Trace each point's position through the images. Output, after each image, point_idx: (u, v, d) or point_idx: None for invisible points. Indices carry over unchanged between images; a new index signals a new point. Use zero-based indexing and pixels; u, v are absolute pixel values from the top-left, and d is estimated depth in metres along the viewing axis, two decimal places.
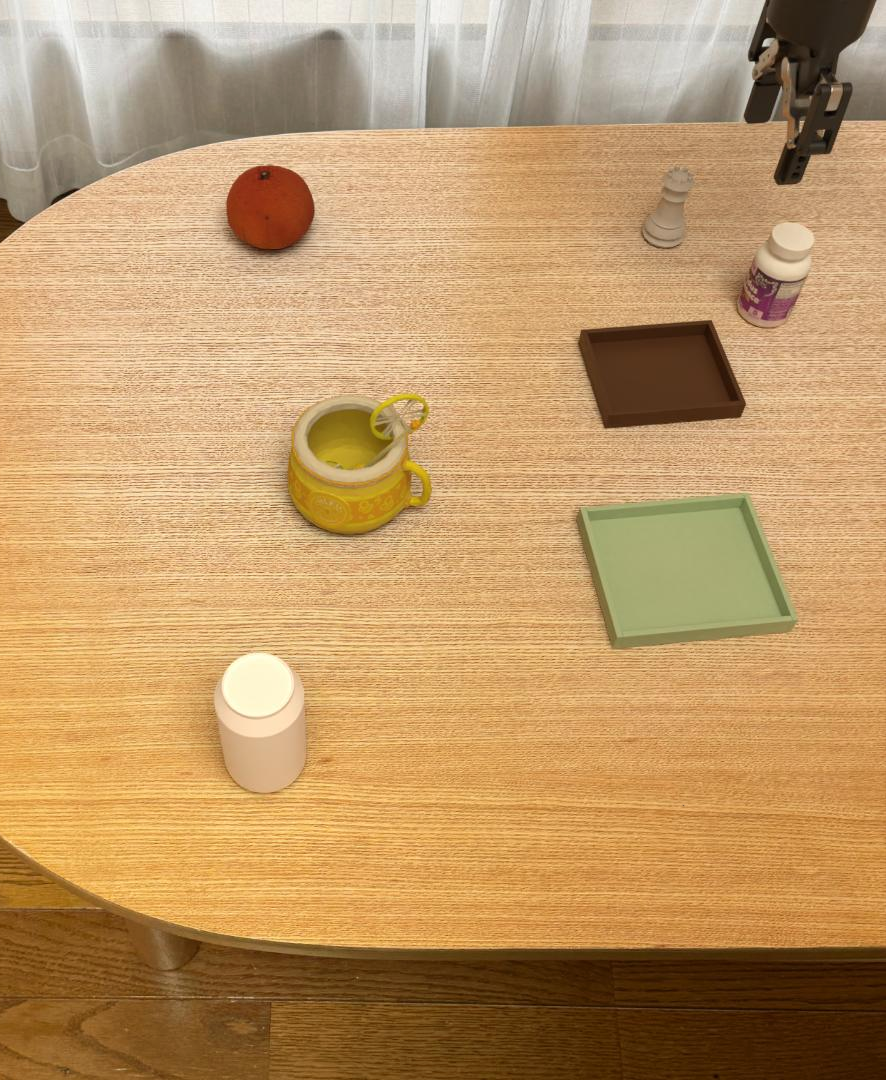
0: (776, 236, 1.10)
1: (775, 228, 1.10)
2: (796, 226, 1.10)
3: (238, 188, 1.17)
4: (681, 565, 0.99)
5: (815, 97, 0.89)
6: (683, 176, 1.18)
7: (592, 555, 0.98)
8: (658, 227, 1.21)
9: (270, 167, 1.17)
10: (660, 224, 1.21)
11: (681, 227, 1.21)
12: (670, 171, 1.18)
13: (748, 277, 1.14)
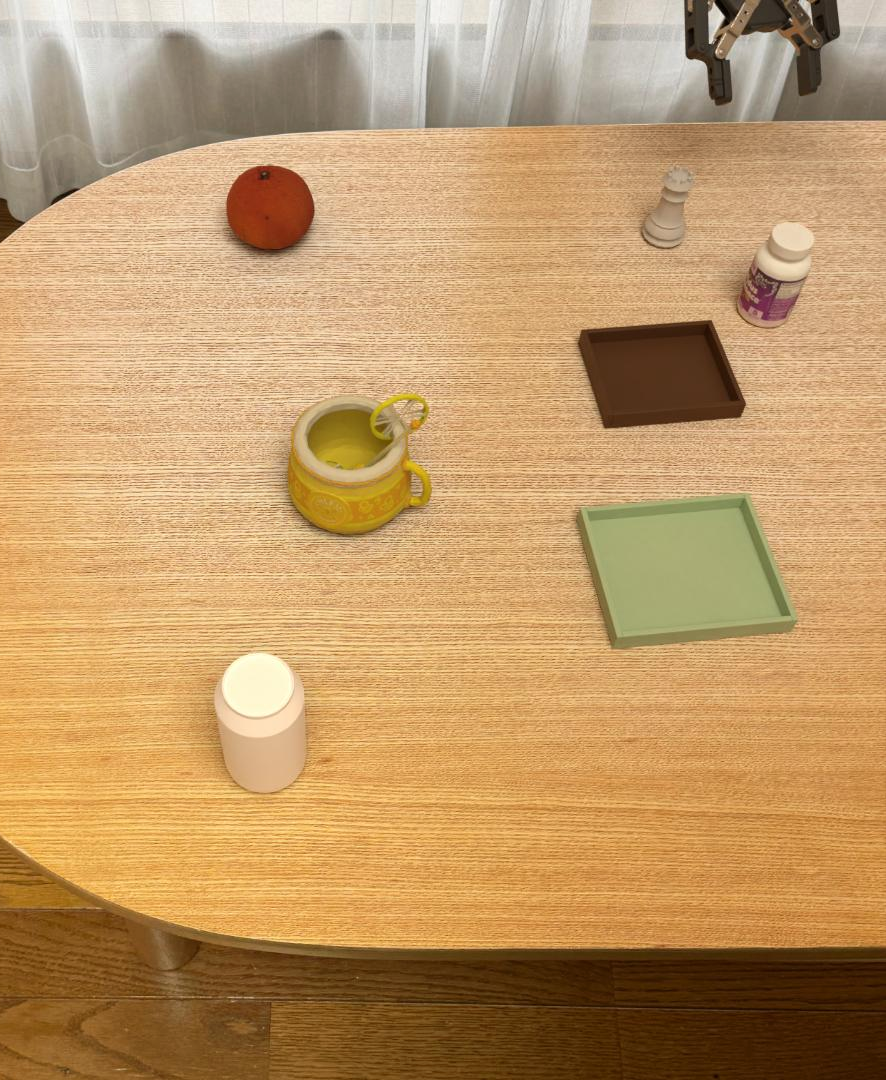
0: (776, 236, 1.10)
1: (775, 228, 1.10)
2: (796, 226, 1.10)
3: (238, 188, 1.17)
4: (681, 565, 0.99)
5: None
6: (683, 175, 1.18)
7: (592, 555, 0.98)
8: (658, 227, 1.21)
9: (270, 167, 1.17)
10: (660, 224, 1.21)
11: (681, 227, 1.21)
12: (670, 171, 1.18)
13: (748, 277, 1.14)
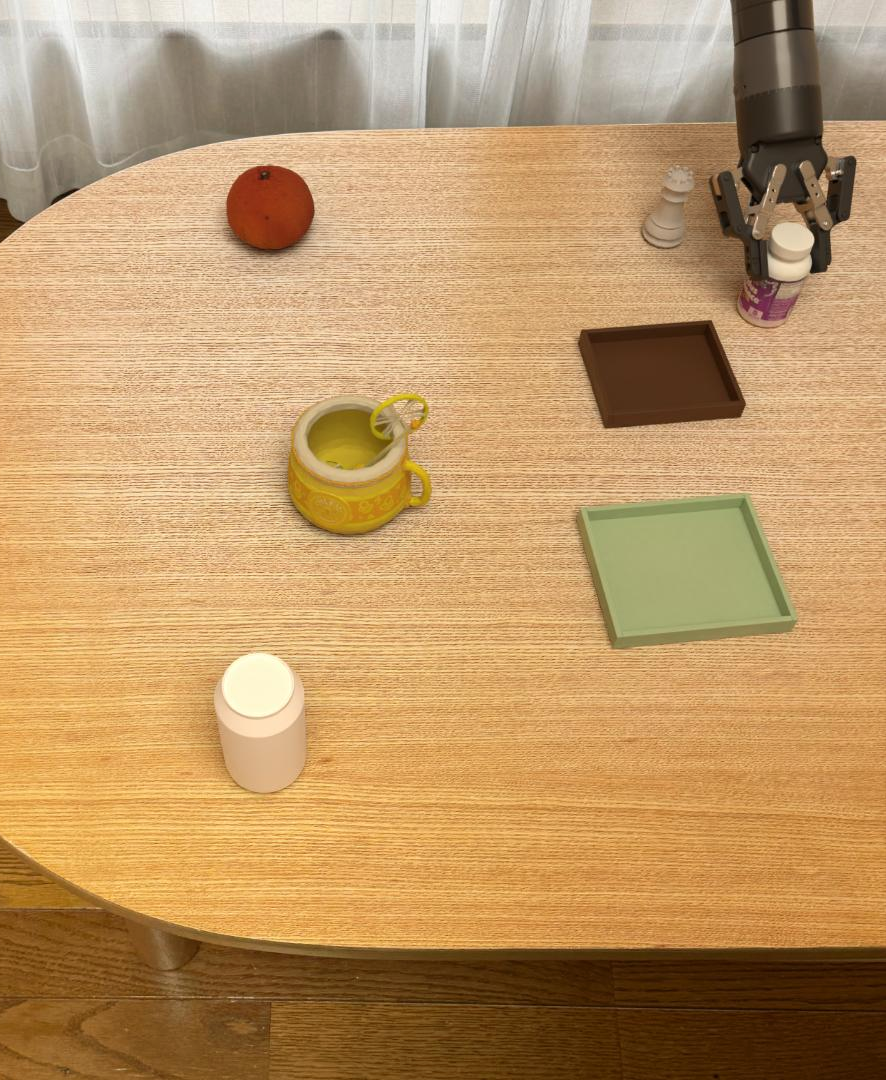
0: (776, 236, 1.10)
1: (775, 228, 1.10)
2: (796, 226, 1.10)
3: (238, 188, 1.17)
4: (681, 565, 0.99)
5: None
6: (683, 175, 1.18)
7: (592, 555, 0.98)
8: (658, 227, 1.21)
9: (270, 167, 1.17)
10: (660, 224, 1.21)
11: (681, 227, 1.21)
12: (670, 171, 1.18)
13: (748, 277, 1.14)
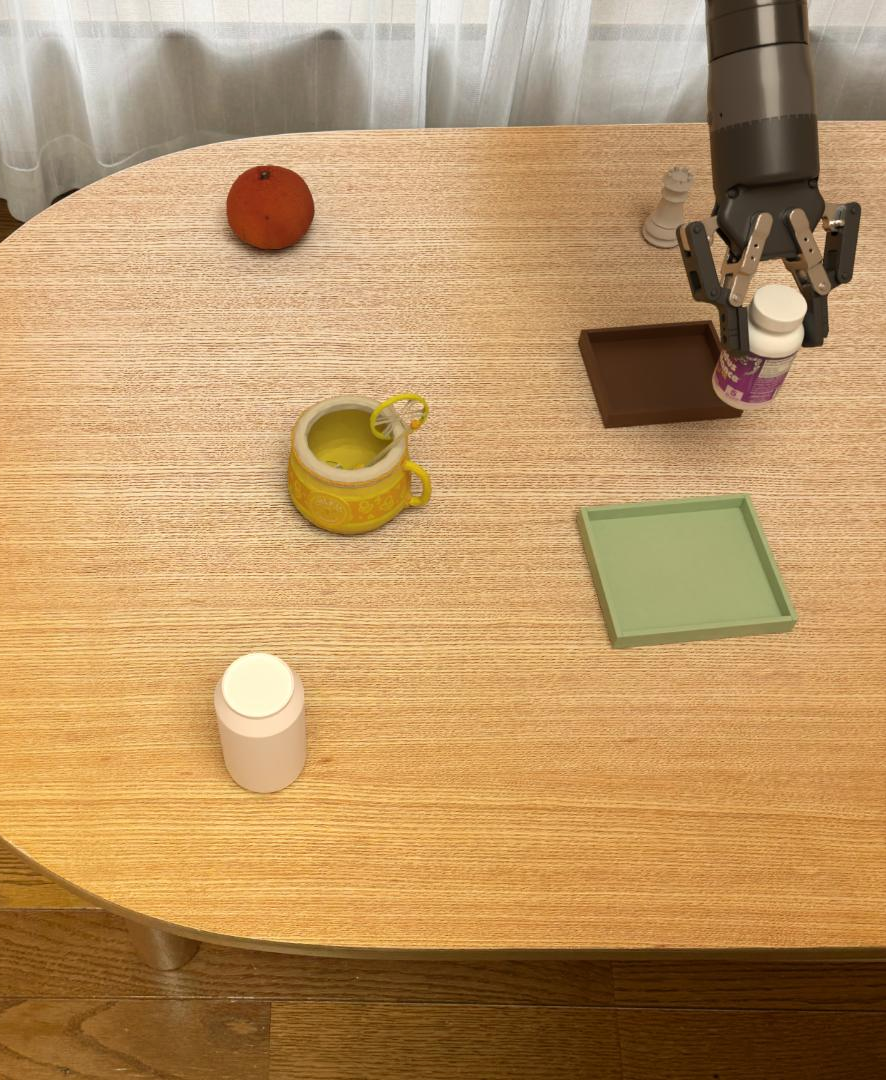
0: (759, 302, 0.87)
1: (758, 292, 0.88)
2: (784, 289, 0.88)
3: (238, 188, 1.17)
4: (681, 565, 0.99)
5: None
6: (683, 175, 1.18)
7: (592, 555, 0.98)
8: (658, 227, 1.21)
9: (270, 167, 1.17)
10: (660, 224, 1.21)
11: None
12: (670, 171, 1.18)
13: None
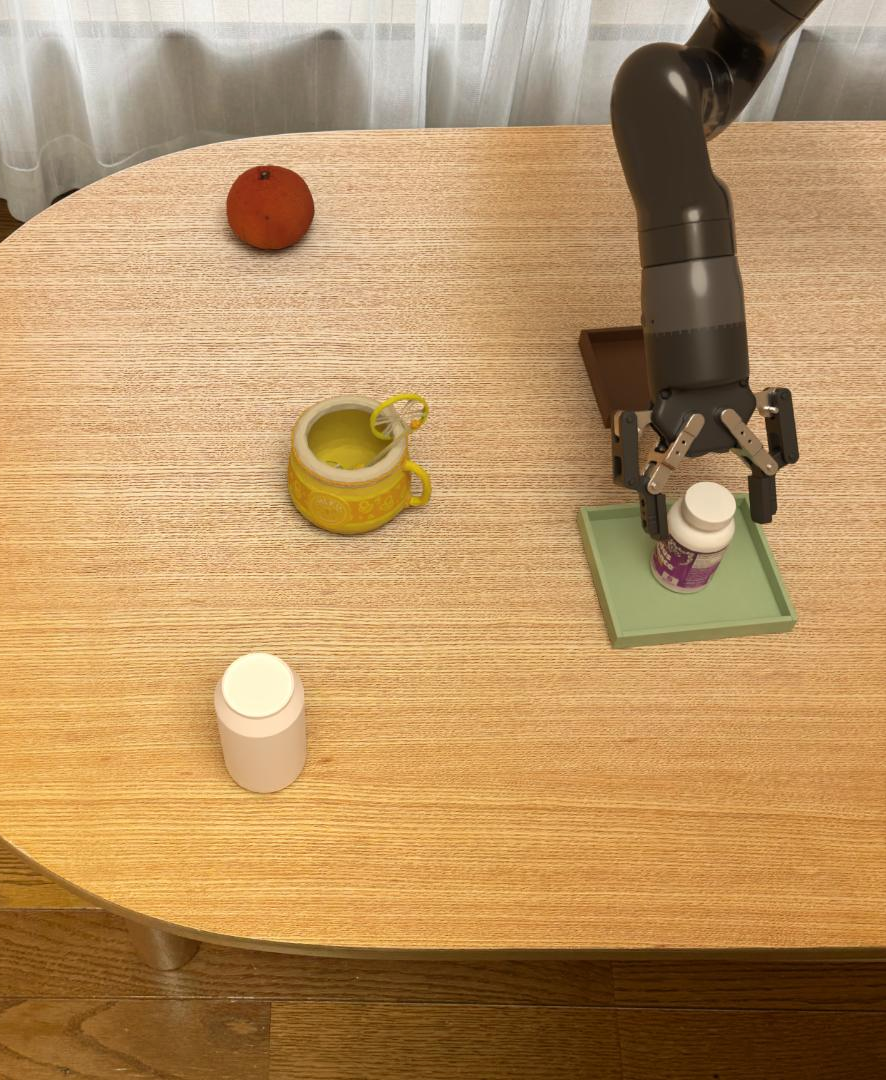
0: (690, 502, 0.91)
1: (689, 490, 0.91)
2: (715, 487, 0.92)
3: (238, 188, 1.17)
4: None
5: None
6: None
7: (592, 555, 0.98)
8: None
9: (270, 167, 1.17)
10: None
11: None
12: None
13: None
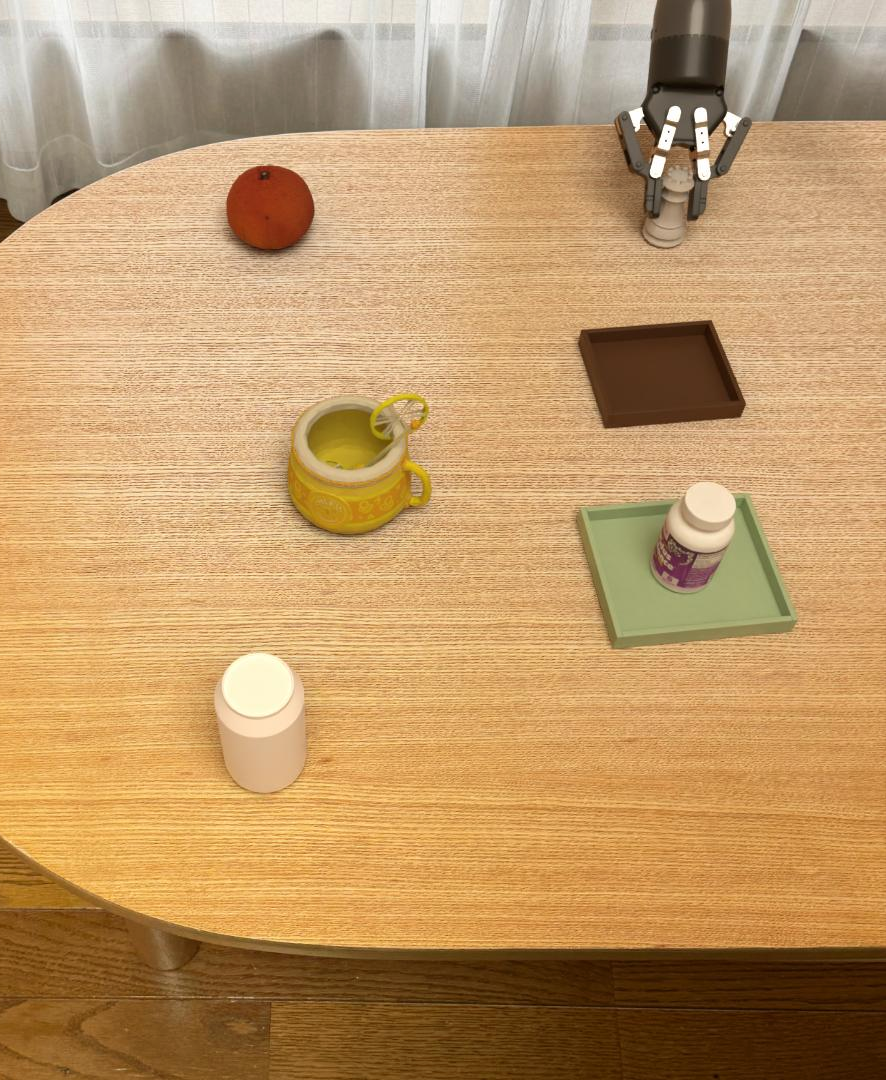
0: (690, 502, 0.91)
1: (689, 490, 0.91)
2: (715, 487, 0.92)
3: (238, 188, 1.17)
4: None
5: None
6: (683, 175, 1.18)
7: (592, 555, 0.98)
8: (658, 227, 1.21)
9: (270, 167, 1.17)
10: (660, 224, 1.21)
11: (681, 227, 1.21)
12: (670, 171, 1.18)
13: (660, 538, 0.95)
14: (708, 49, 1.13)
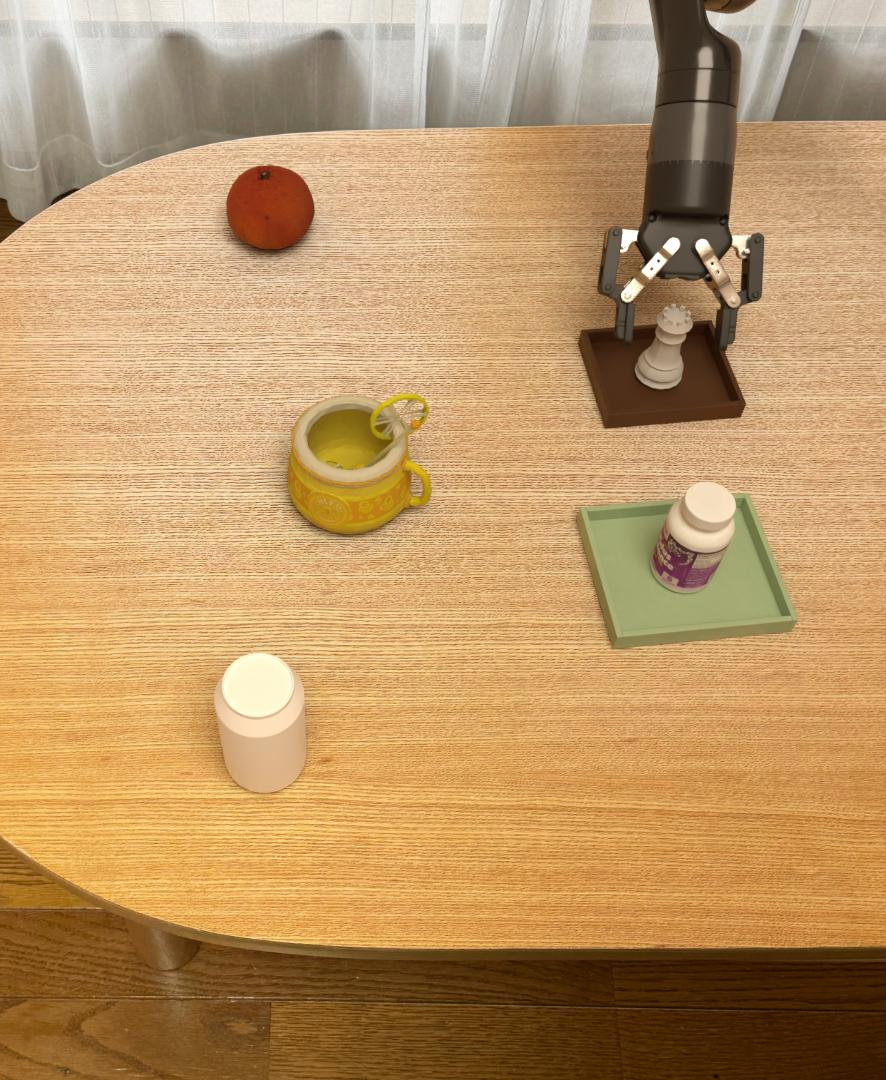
0: (690, 502, 0.91)
1: (689, 490, 0.91)
2: (715, 487, 0.92)
3: (238, 188, 1.17)
4: None
5: None
6: (680, 316, 1.05)
7: (592, 555, 0.98)
8: (652, 368, 1.09)
9: (270, 167, 1.17)
10: (655, 365, 1.09)
11: (678, 368, 1.09)
12: (665, 310, 1.06)
13: (660, 539, 0.95)
14: (711, 176, 1.01)
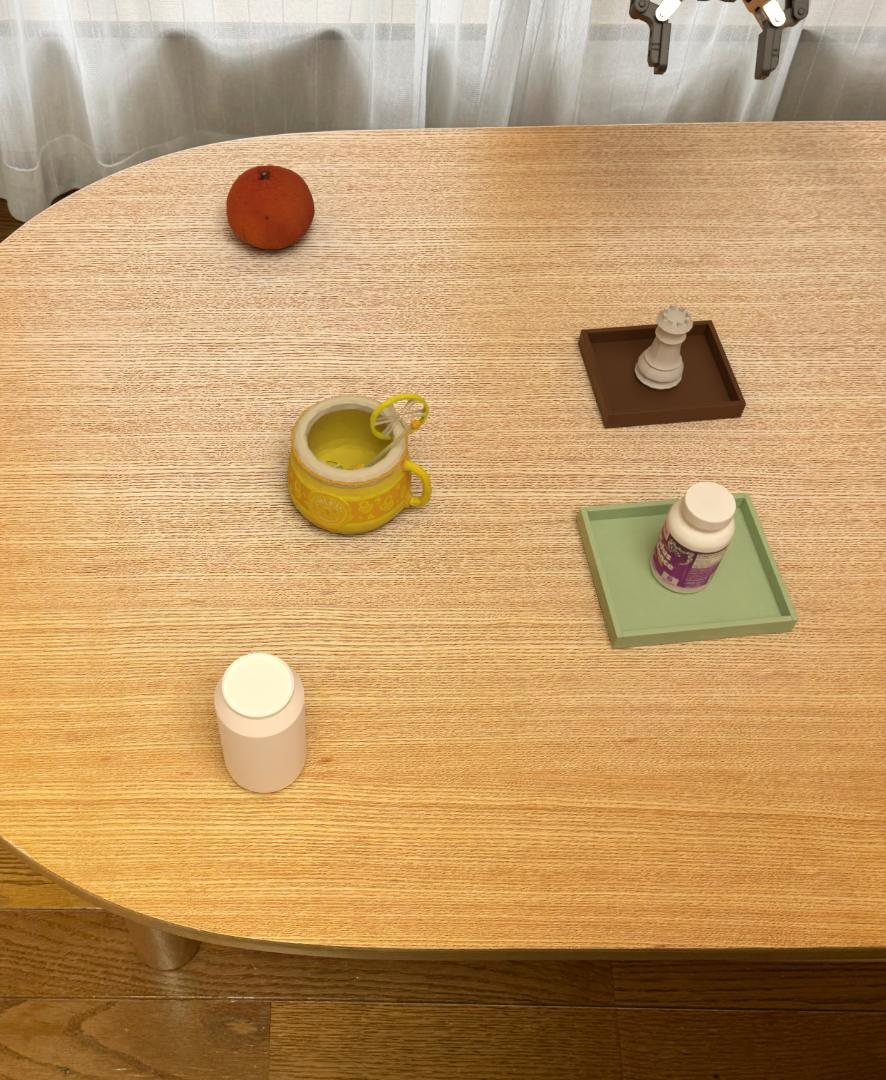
0: (690, 502, 0.91)
1: (689, 490, 0.91)
2: (715, 487, 0.92)
3: (238, 188, 1.17)
4: None
5: None
6: (680, 316, 1.05)
7: (592, 555, 0.98)
8: (652, 368, 1.09)
9: (270, 167, 1.17)
10: (655, 365, 1.09)
11: (678, 368, 1.09)
12: (665, 310, 1.06)
13: (660, 538, 0.95)
14: None
